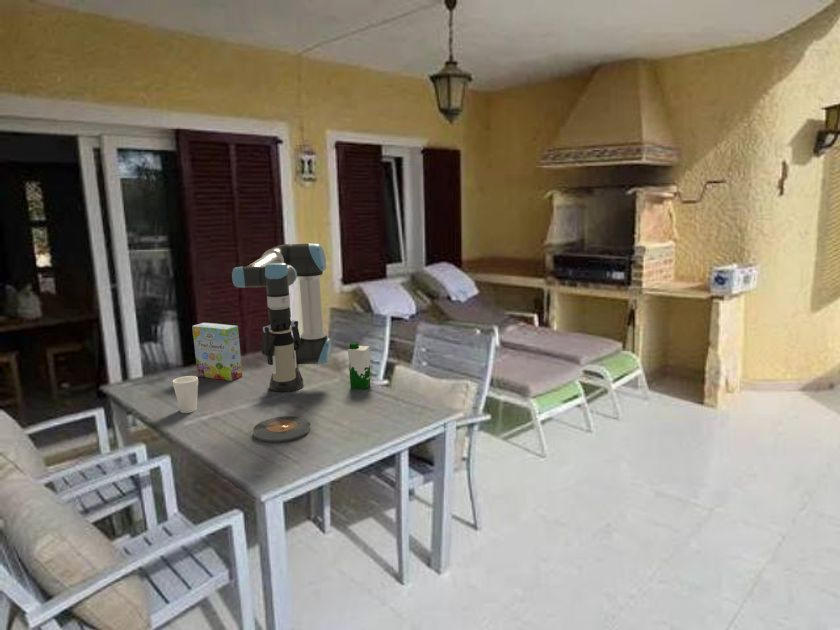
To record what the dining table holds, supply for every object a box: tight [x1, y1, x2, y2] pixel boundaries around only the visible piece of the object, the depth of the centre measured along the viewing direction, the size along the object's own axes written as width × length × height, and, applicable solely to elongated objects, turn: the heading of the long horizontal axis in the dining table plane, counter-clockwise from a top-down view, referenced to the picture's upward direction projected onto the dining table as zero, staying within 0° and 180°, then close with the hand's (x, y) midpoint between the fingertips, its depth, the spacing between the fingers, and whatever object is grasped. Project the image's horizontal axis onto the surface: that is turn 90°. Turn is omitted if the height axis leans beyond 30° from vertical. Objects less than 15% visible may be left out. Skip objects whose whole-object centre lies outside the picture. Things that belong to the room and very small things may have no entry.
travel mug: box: [270, 327, 296, 382], centre depth 199 cm, size 8×8×18 cm
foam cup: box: [172, 375, 199, 414], centre depth 227 cm, size 10×9×13 cm
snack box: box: [191, 322, 243, 382], centre depth 270 cm, size 22×9×26 cm, turn 67°
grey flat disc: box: [252, 415, 311, 444], centre depth 204 cm, size 20×20×2 cm
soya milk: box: [347, 342, 371, 390], centre depth 251 cm, size 9×9×20 cm
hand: (283, 370), depth 200 cm, fingers closed on travel mug, 8 cm apart
